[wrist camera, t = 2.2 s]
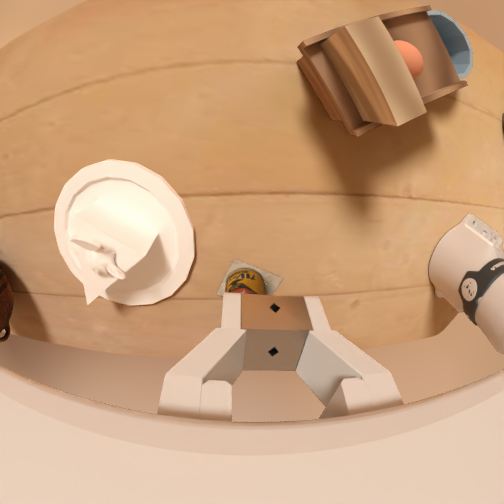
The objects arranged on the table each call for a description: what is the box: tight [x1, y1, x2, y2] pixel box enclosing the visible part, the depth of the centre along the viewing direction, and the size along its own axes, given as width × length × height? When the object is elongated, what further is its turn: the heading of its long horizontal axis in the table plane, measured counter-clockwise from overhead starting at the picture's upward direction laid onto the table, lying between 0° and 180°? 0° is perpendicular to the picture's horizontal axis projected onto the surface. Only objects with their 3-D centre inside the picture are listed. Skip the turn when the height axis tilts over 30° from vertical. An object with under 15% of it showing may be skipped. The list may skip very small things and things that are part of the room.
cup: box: [427, 10, 473, 78], centre depth 22 cm, size 10×10×6 cm
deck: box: [297, 6, 468, 136], centre depth 24 cm, size 18×11×10 cm, turn 122°
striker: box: [320, 16, 427, 126], centre depth 18 cm, size 4×9×7 cm, turn 32°
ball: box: [394, 40, 424, 79], centre depth 18 cm, size 4×4×4 cm
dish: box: [54, 159, 195, 306], centre depth 34 cm, size 25×25×11 cm
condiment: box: [217, 259, 283, 297], centre depth 39 cm, size 7×8×12 cm
